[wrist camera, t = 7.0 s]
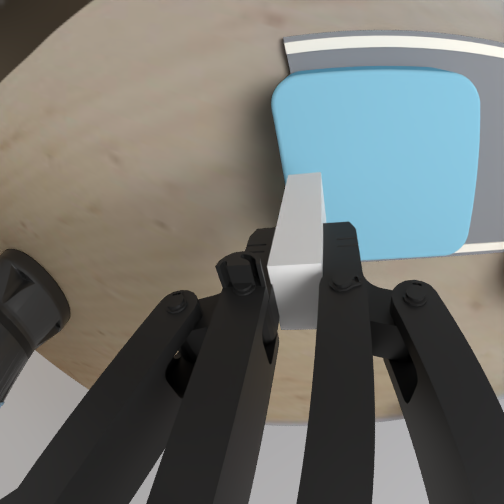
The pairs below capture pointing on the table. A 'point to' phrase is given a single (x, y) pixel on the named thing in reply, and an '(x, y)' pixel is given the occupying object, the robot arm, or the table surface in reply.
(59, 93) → the table surface
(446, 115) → the light blue flat block
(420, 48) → the mat
